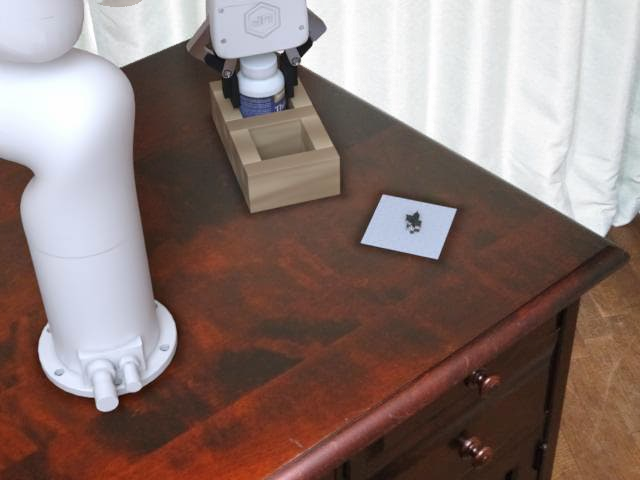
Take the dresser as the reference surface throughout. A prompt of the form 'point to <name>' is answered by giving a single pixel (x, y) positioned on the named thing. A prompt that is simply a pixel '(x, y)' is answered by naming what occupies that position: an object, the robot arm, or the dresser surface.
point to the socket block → (278, 151)
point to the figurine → (409, 226)
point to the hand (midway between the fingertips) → (260, 95)
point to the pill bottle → (261, 85)
